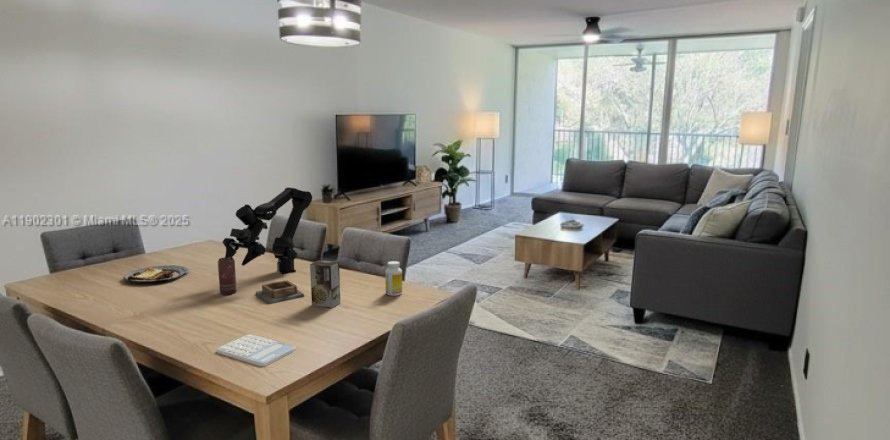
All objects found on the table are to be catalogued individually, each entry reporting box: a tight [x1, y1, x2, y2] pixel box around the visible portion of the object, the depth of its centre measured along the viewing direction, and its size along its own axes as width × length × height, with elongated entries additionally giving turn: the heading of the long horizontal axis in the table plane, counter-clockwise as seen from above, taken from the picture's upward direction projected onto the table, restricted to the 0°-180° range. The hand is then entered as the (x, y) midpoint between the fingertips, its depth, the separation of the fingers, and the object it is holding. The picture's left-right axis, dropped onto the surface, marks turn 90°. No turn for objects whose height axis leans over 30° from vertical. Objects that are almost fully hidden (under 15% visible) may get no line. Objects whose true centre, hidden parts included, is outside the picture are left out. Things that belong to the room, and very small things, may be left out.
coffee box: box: [309, 259, 341, 309], centre depth 201 cm, size 9×6×16 cm
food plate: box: [123, 264, 190, 283], centre depth 233 cm, size 25×23×4 cm
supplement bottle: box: [384, 260, 403, 297], centre depth 214 cm, size 7×7×13 cm
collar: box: [255, 279, 305, 305], centre depth 211 cm, size 14×14×4 cm
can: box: [217, 256, 237, 296], centre depth 213 cm, size 6×6×14 cm
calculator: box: [216, 333, 297, 367], centre depth 162 cm, size 13×20×2 cm, turn 62°
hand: (233, 263), depth 215 cm, fingers open, 9 cm apart
